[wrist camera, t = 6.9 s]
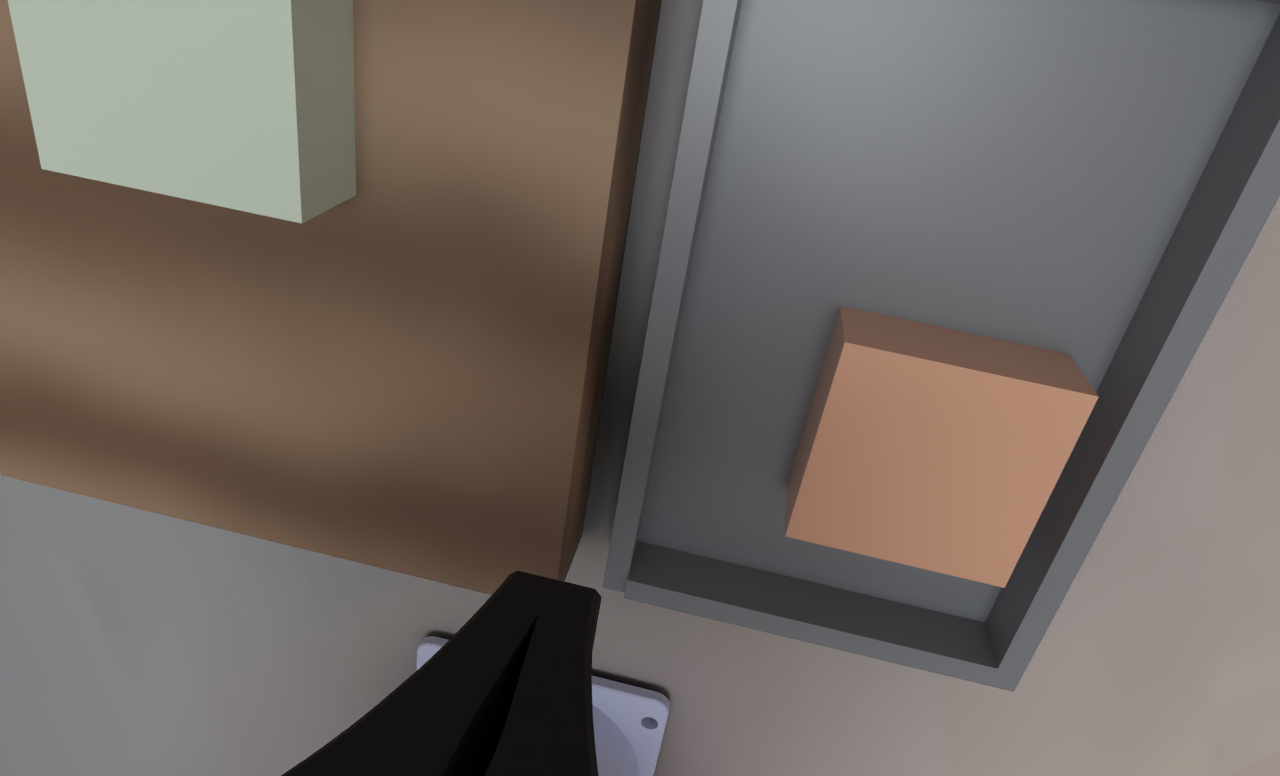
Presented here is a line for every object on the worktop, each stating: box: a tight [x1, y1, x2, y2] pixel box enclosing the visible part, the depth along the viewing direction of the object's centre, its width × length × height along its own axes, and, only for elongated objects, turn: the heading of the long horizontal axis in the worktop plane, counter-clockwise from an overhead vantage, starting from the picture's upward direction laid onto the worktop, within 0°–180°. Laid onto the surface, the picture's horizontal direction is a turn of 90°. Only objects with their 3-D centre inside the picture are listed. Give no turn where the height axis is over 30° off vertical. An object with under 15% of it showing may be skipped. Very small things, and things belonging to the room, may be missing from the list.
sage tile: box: [8, 0, 356, 223], centre depth 14 cm, size 5×5×2 cm
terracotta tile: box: [785, 306, 1099, 588], centre depth 18 cm, size 5×5×2 cm
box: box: [603, 0, 1280, 692], centre depth 18 cm, size 16×10×2 cm, turn 171°
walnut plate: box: [0, 0, 661, 595], centre depth 18 cm, size 16×15×3 cm
